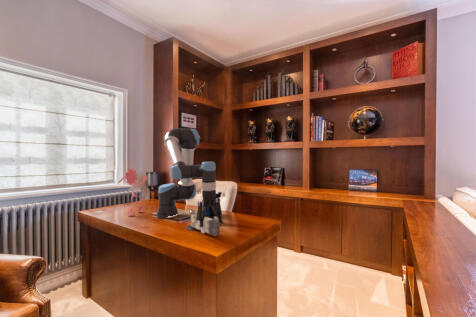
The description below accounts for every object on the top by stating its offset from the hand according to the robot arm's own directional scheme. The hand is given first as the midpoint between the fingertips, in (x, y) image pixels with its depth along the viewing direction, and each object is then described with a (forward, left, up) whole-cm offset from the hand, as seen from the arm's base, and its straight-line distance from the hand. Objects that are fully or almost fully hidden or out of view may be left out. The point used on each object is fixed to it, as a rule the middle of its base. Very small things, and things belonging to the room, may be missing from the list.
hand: (209, 230), depth 129 cm
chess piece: (-17, +16, -3) cm, 23 cm away
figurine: (-82, -13, -3) cm, 83 cm away
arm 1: (-4, -1, -1) cm, 5 cm away
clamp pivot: (-18, 0, -3) cm, 18 cm away
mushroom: (-32, +25, -3) cm, 40 cm away
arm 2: (-5, +1, -1) cm, 5 cm away
